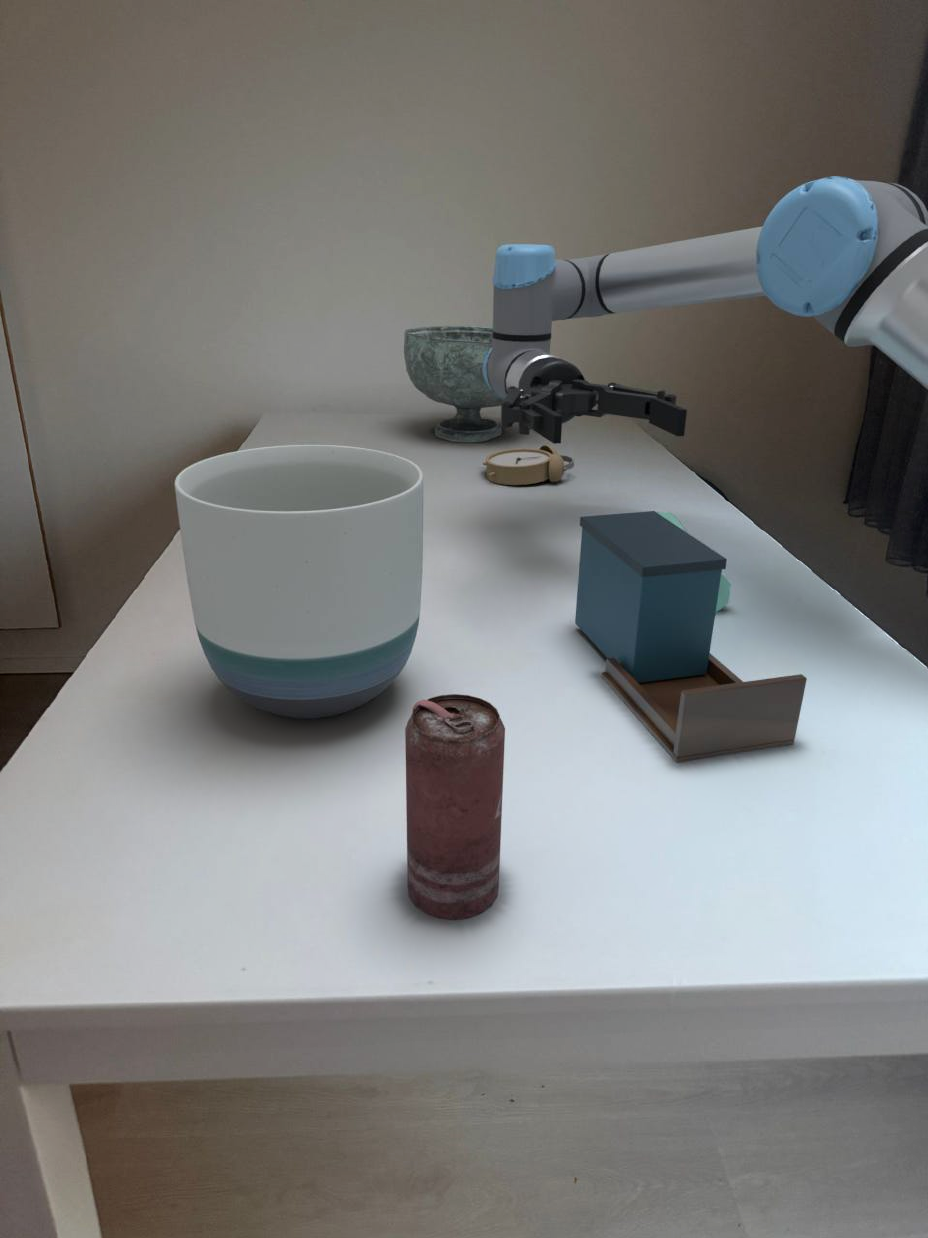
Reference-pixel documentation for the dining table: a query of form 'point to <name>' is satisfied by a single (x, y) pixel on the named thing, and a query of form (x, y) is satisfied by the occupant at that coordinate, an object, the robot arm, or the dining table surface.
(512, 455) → the alarm clock
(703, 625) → the storage container
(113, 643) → the dining table surface
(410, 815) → the can
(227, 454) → the planter
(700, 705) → the wooden drawer
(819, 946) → the dining table surface
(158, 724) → the dining table surface
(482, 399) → the decorative bowl
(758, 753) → the dining table surface
